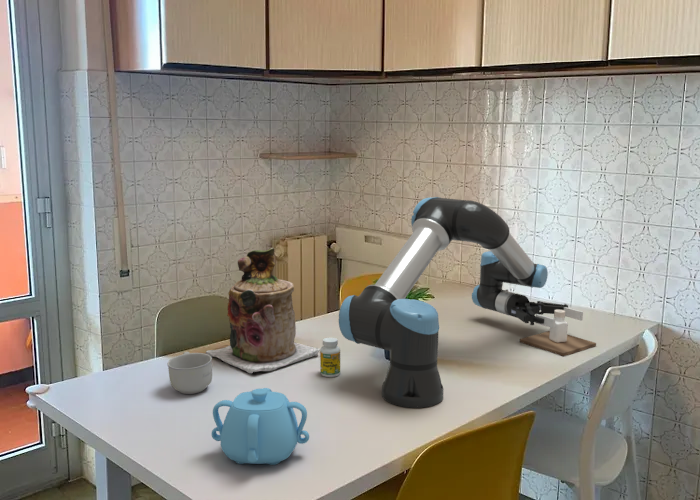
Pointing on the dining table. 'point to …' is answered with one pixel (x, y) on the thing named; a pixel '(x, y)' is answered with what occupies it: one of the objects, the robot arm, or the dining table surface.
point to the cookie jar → (261, 319)
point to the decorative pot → (259, 427)
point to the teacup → (190, 372)
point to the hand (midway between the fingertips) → (568, 319)
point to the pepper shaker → (559, 327)
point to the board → (558, 344)
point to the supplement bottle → (330, 358)
